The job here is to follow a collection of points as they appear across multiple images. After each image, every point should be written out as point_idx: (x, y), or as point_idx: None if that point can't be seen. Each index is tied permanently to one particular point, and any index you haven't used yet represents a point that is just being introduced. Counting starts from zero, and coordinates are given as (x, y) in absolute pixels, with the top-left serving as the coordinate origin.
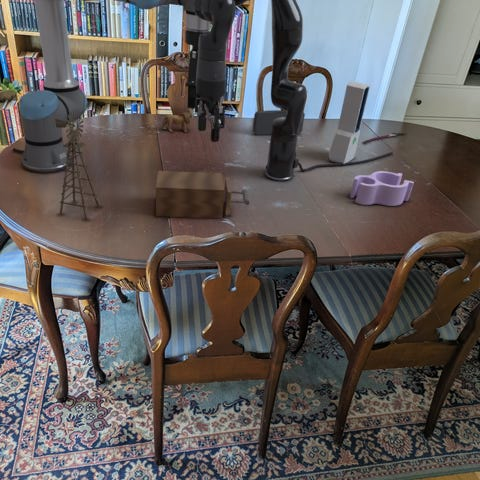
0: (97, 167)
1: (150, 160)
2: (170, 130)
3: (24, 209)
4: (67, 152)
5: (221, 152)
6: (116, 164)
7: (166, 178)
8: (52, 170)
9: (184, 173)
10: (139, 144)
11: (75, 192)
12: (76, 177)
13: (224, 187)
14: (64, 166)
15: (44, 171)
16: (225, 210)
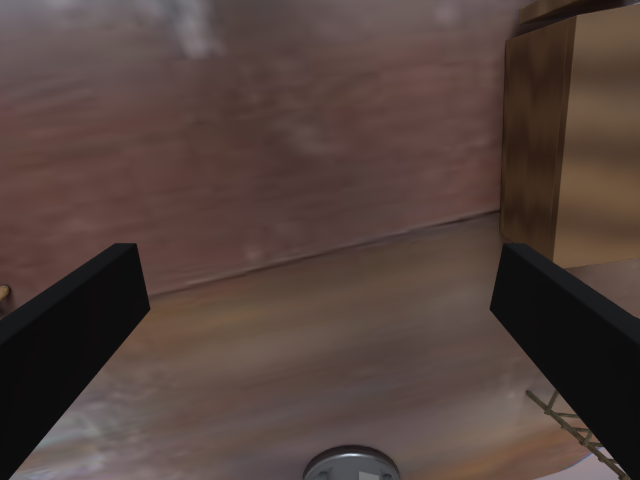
0: (342, 397)
1: (259, 299)
2: (4, 292)
3: (554, 450)
4: (340, 476)
5: (90, 81)
6: (313, 367)
7: (617, 233)
8: (393, 464)
9: (575, 179)
10: (159, 348)
11: (548, 407)
12: (589, 439)
13: (549, 12)
14: (371, 453)
15: (398, 473)
16: (626, 4)
